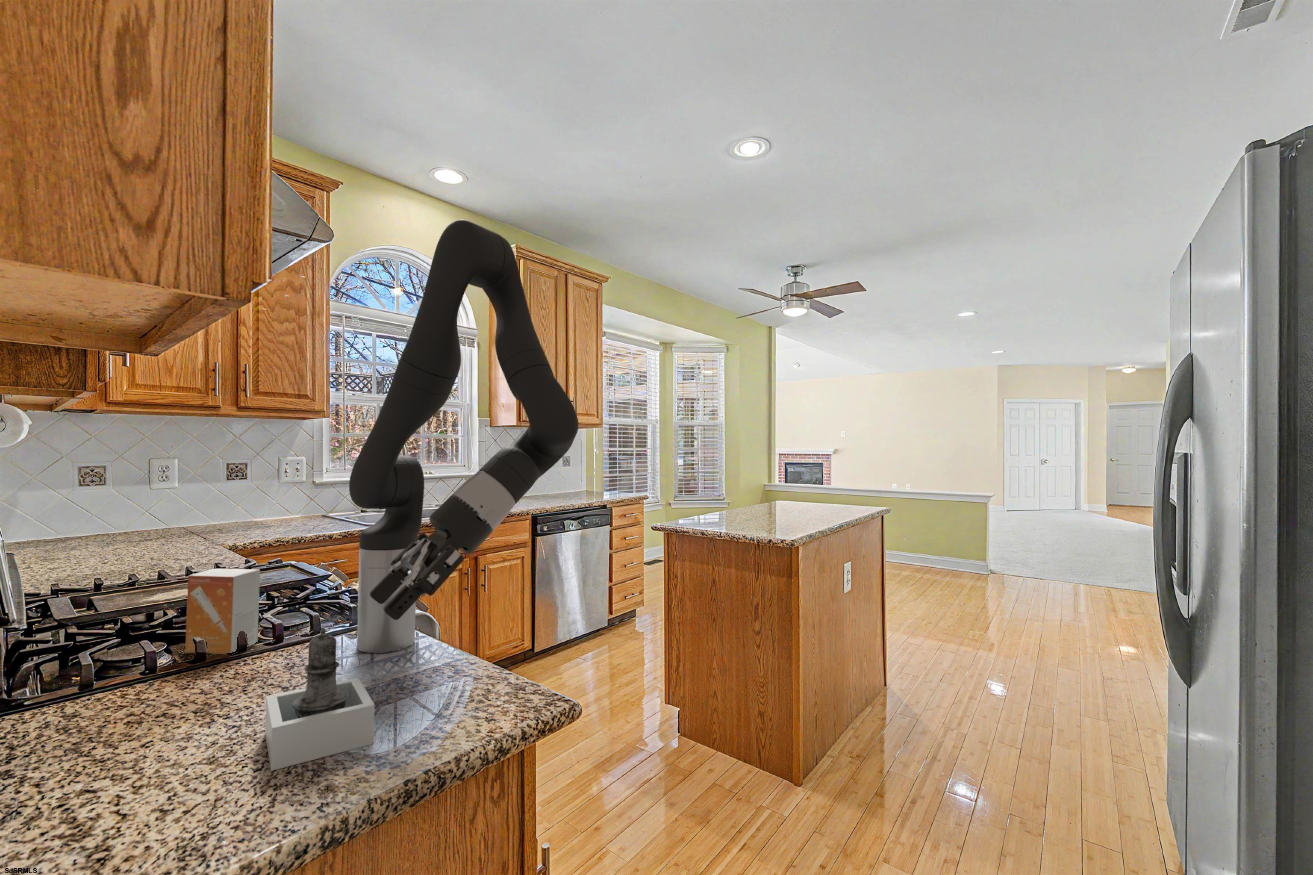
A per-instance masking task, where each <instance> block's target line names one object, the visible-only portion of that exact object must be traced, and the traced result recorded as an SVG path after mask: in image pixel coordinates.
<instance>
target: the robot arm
mask: <svg viewBox="0 0 1313 875" xmlns="http://www.w3.org/2000/svg"><path fill="white" fill-rule="evenodd" d="M516 258H517V257H516V255H515V252H514V249H513V248H512V246H511V244H510V243H509V241H508V240H507V239H506V238H505V237H503V236H502V235H501V234H499V233H497V232H494V230H493V231H492V230H491V229H488V228H487V227H484V226H482V225H479V224H477V223H475V222H473V221H470V220H467V219H464V218H462V219H456V220H454V221H452V222H450V223H449V224H448V225H447V226H446V227H445V228H444V230H443V231H442V233H441V236H439V240H438V242H437V243H436V246H435V250H434V254H433V257H432V261H431V264H430V265H431V266H430V269H429V271H428V276H427V279H426V283H425V287H424V291H423V295H422V298H421V302H420V305H419V308H418V310H417V313H416V317H415V319H414V322H413V325H412V328H411V331H410V334H409V336H408V339H407V340H406V344H405V346H404V348H403V350H402V353H401V355H400V358H399V360H398V363H397V365H396V368H395V371H394V373H393V377H392V380H391V383H390V385H389V389H388V391H387V393H386V397H385V399H384V401H383V404H382V406H381V408H380V410H379V413H378V416H377V418H376V421H375V423H374V425H373V426H372V429H371V431H370V432H369V434H368V437H367V438H366V440H365V442H364V444H363V446H362V448H361V449H360V452H359V454H358V456H357V458H356V460H355V462H354V464H353V467H352V470H351V473H350V476H349V481H348V482H349V483H348V484H349V486H348V488H349V489H348V491H349V497H350V498H351V501H352V502H353V503H354V505H356V506H357V507H359V508H361V509H366V510H367V509H369V510H370V509H372V510H373V509H375V510H377V509H385V510H384V512H383V513H384V514H383V515H382V517H381V518H380V519H379V520H378V521H377V522H375V523H374V524H372V525H370V526H369V527H366V528H365V529H364V530H362V531H361V532H360V534H359V545H358V546H359V547H358V549H359V550H358V586H357V588H358V590H357V594H358V595H357V625H356V626H357V627H356V649H357V650H358V651H360V652H362V653H367V654H368V653H369V654H382V653H384V654H385V653H391V652H390V651H392V652H396V650H397V651H399V649H400V650H404V649H407V648H409V647H410V645H411V646H413V645H414V644H415V638H416V637H415V636H416V610H417V609H416V606H417V605H416V601H418V599H419V598H420V597H422V598H423V597H425V596H427V595H428V596H429V597H431V596H433V595H434V594H435V593H436V592H437V591H438V590H439V588H440V587H442V586H443V584H444V583H445V582H446V581H447V579H448V578H449V577H450V576H451V575H452V574H453V573H454V572H455V570H457V569H458V567H459V566H461V564H462V563H463V562H464V560H465V556H463V555H462V553H461V552H463V553H464V554H465V555H472V554H474V552H475V551H477V549H479V547H480V546H481V545H482V544H483V543H484V542H485V541H486V540H487V538H488V537H489V536H490V535H491V534H492V533H493V532H494V531H495V530H496V529H497V528H498V527H499V525H500V524H501V523H502V522H503V521H504V520H505V519H506V518H507V516H508V515H510V512H511V511H512V510H513V508H514V507H515V505H516V504H518V502H519V501H520V500H521V499H522V498H523V497H524V496H525V495H526V494H527V492H528V491H529V490H530V489H531V488H532V487H533V486H534V485H535V483H536V482H537V481H538V480H539V478H541V477H542V476H543V475H544V474H545V473H547V472H548V471H549V470H550V469H552V467H554V466H555V465H556V464H557V463H558V462H559V461H560V460H561V459H562V458H563V457H564V456H565V455H566V454H567V452H568V451H569V450H570V448H572V445H573V442H574V441H575V438H576V436H577V434H578V431H579V418H578V413H577V412H576V411H577V410H576V408H575V406H574V405H573V403H572V401H571V399H570V398H569V396H568V395H567V393H566V392H565V390H564V389H563V387H562V386H561V384H560V382H559V381H558V380H557V379H556V378H555V375H554V372H553V370H552V367H551V365H550V362H549V360H548V358H547V355H546V353H545V351H544V349H543V347H542V344H541V341H540V339H539V337H538V335H537V332H536V329H535V327H534V323H533V320H532V316H531V313H530V309H529V306H528V302H527V297H526V294H525V290H524V287H523V286H524V285H523V283H522V279H521V278H522V277H521V275H520V270H519V266H518V262H517V259H516ZM469 285H470V286H474V287H476V288H479V289H482V290H483V292H484V293H485V295H486V297H487V298H488V300H489V302H490V303H491V306H492V308H493V310H494V314H495V319H496V328H495V337H494V345H495V346H494V347H495V353H496V358H497V360H498V361H497V362H498V365H499V366H500V369H501V372H502V374H503V376H504V379H505V381H506V383H507V385H508V388H509V390H510V392H511V394H512V396H513V397H514V398H515V399H516V400H517V401H519V402H520V403H521V405H522V408H523V409H524V412H525V413H526V417H527V420H528V424H529V425H528V427H527V428H526V430H525V431H524V432H523V433H522V434H521V435H520V436H519V437H518V438H517V439H516V440H515V441H514V442H512V444H511V445H509V446H505V447H503V448H501V449H500V450H499V451H497V452H495V454H494V455H493V456H492V457H491V458H490V459H489V460H488V461H487V462H486V463H484V465H483V466H481V467H480V469H478V471H477V472H476V473H474V474H473V475H472V476H470V477H469V478H468V479H466V480H465V481H464V482H463V483H462V484H461V485H459V487H458V488H457V489H456V490H455V491H454V492H453V493H452V494H451V495H450V496H449V497H448V498H447V499H446V500H445V501H444V502H443V503H442V504H441V505H440V506H439V507H438V508H437V509H436V510H435V511H434V512H433V513H432V514H431V515H430V516H429V523H430V525H432V527H434V528H435V530H434V532H432V533H431V534H430V535H428V534H427V533H425V532H421V533H420V531H421V528H422V521H423V510H424V509H423V508H424V496H425V477H424V471H423V467H422V465H421V463H420V462H419V461H418V459H417V458H415V457H414V456H411V455H406V454H405V455H402V454H401V451H402V450H403V449H404V447H405V445H406V443H407V442H408V440H410V438H411V437H412V436H413V435H414V434H415V433H416V432H417V431H418V430H419V429H420V428H422V426H423V425H425V424H426V423H427V422H428V421H429V420H430V419H432V418H433V417H434V416H435V415H436V414H437V413H438V412H439V411H440V409H442V408H443V406H444V405H445V404H446V402H448V399H449V398H450V394H451V393H452V389H453V387H454V385H455V383H456V380H457V378H458V375H459V373H460V370H461V365H462V353H461V345H460V344H461V343H460V337H459V332H458V331H459V330H458V316H459V310H460V307H461V304H462V300H463V297H464V295H465V292H466V290H467V289H468V286H469ZM400 454H401V455H400ZM460 551H461V552H460ZM408 646H409V647H408ZM403 648H404V649H403Z"/></svg>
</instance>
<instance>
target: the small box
mask: <svg viewBox="0 0 1313 875" xmlns="http://www.w3.org/2000/svg"><path fill="white" fill-rule="evenodd" d="M260 575H261V569H259V568H257V569H256V568H255V569H249V568H247V569H246V568H213V569H208V570H204V571H199V572H196V573H193V574H190V575H188V576H187V578H188V579H187V596H186V599H187V600H186V602H187V603H186V622H185V623H186V624H185V649H184V650H185V651H184V652H185V653H186V654H196V653H195V644H194V642H193V637H200V638H201V639H204V640H205V641H206V642H207V647H208V651H209V653H210V655H214V654H215V655H227V654H226V653H232V652H235V651H236V649H237V637H238V634H239V632H240V631H244V632H245V633H246V634H247V638H248V644H249V645H250V646H249V647H251V645H252V646H254V645H255V643H256V642H257V643H258V639H259V637H258V636H259V610H260V609H259V604H260V577H261V576H260ZM257 643H256V644H257ZM209 653H208V654H209Z"/></svg>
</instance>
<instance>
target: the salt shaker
mask: <svg viewBox="0 0 1313 875" xmlns="http://www.w3.org/2000/svg"><path fill="white" fill-rule="evenodd" d="M326 631H327V629H326V628H325V627H323V626H322V627H321V629H320V630H319V632H320V634H318V635H316V636H314V637H313V638H311V640H309V643H308V658H307V659H308V660H307V661H308V662H307V663H308V665H306V666H305V667H304V670H303V671H305V673H306V676H307V677H306V687H305V688H306V691H305V694H304V695H302V696H300V697H298V698H297V699H295V700H294V701H293V703H292V707H293V708H294V709H295V713H296V716H297V718H303V717H307V716H311V715H316V714H320V713H325V712H329V711H334V710H338V709H343V708H344V707H345V705H346V700H347V698H348V697H349V693H348V692H347V691H345V690H342V689H338V688H337V684H336V682H337V668H338V667H339V666H340V663H339V662H338V661H337V659H336V658H337V639H336V637H334V636H333V635H331V634H329V633H326Z"/></svg>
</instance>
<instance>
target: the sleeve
mask: <svg viewBox="0 0 1313 875" xmlns="http://www.w3.org/2000/svg"><path fill="white" fill-rule="evenodd" d="M336 684H337V688H338V689H342V690H345V691H347V692H348V693H349V697H348V698H347V700H346V705H345V707H344V708H343V709H338V710H334V711H329V712H325V713H320V714H316V715H311V716H307V717H303V718H297V716H296V713H295V709H294V708H293V707H292V703H293V701H294V700H295V699H297V698H298V697H300V696H302V695H304V694H305V691H306V688H307V687H304V688H300V689H296V690H295V689H294V690H290V691H285V692H279V693H275V694H270V695H266V696H265V698H266V699H265V720H264V721H265V723H264V724H265V728H264V730H265V732H264V735H265V736H264V737H265V742H266V749H267V754H268V761H269V767H270V771H271V772H273V771H275V770H276V771H277V770H281V769H283V768H287V767H291V766H294V765H298V764H302V763H303V764H304V763H306V762H309V761H314V760H318V759H320V758H324V757H328V756H332V755H337V754H340V753H344V752H347V751H352V750H355V749H358V748H359V749H360V748H362V747H363V748H364V747H367V746H370V745H374V744H375V742H374V738H375V735H374V734H375V703H374V700H372V698H371V696H370V695H369V693H368V692H367V690H366V688H365V686H364V685H363V683H362V682H361V680H360V678H359V677H354V678H349V679H345V680H340V681H336Z"/></svg>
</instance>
